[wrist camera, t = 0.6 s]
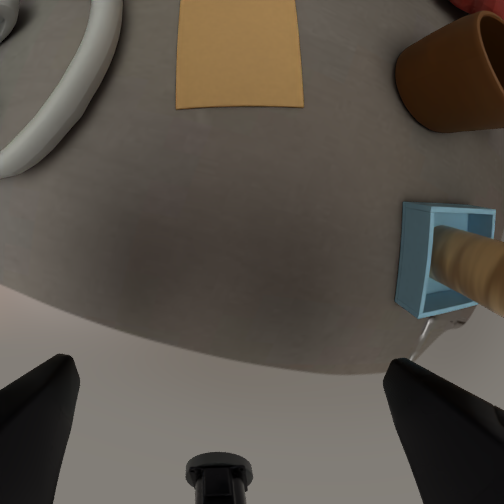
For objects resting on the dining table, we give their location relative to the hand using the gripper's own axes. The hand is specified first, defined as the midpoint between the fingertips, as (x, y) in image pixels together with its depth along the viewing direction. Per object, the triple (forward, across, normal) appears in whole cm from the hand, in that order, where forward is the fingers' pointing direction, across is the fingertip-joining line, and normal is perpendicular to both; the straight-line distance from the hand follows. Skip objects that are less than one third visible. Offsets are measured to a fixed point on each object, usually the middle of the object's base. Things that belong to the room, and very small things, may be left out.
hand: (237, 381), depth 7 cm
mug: (+14, -17, -12) cm, 25 cm away
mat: (+14, 0, -15) cm, 20 cm away
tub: (+12, -17, 0) cm, 21 cm away
